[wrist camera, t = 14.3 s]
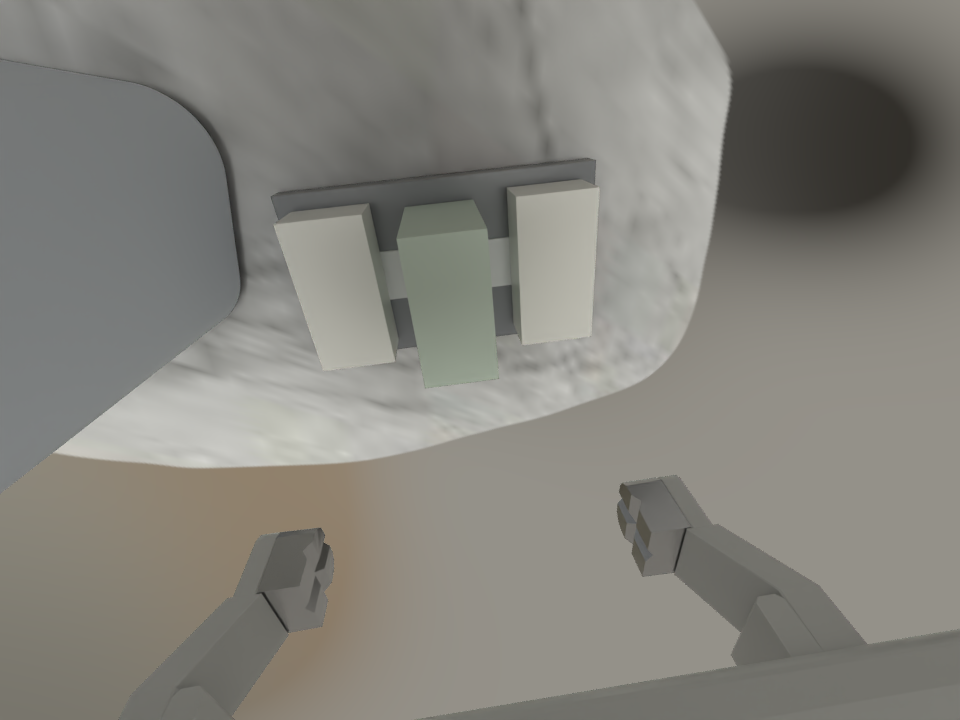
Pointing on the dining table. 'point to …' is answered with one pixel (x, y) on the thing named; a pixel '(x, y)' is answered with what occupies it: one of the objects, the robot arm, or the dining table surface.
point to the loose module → (449, 291)
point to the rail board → (378, 272)
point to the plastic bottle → (99, 249)
